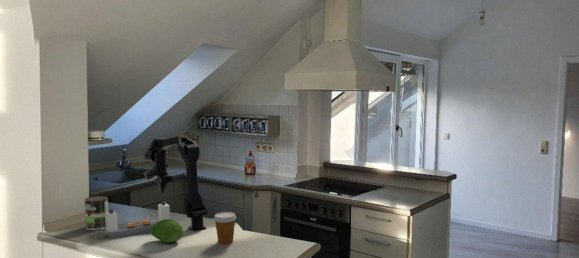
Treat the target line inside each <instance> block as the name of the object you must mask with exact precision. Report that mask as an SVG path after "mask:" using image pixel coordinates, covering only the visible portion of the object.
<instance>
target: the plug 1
mask: <svg viewBox="0 0 579 258" xmlns="http://www.w3.org/2000/svg"><path fill="white" fill-rule="evenodd" d="M118 223H119V222H118V213H117V211H114V209H113V208H112V209H111V208H110V209H108V212H106V228H105V231H106V230H107V231H108V232H115V231H118V227H119V225H118Z"/></svg>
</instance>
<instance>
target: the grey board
mask: <svg viewBox="0 0 579 258" xmlns="http://www.w3.org/2000/svg"><path fill="white" fill-rule="evenodd" d="M150 222H151V223H150V224H142V223H137V224H135V226H132V227H127V224H126V225H121V226H120V225H119V226H118V231H115V232H108V231H107V230H106V229H105V235H106V237H107V238H108V239H109V240H112V239H118V238H122V237H123V238H124V237H128V236H133V235H134V236H135V235H139V234H145V233H150V231H151V228H152V226H153V225H154V224H156V223H157V222H160V221H159V219H155V220H150Z"/></svg>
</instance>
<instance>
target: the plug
mask: <svg viewBox="0 0 579 258" xmlns="http://www.w3.org/2000/svg"><path fill="white" fill-rule="evenodd" d="M170 206H171V205H169V204H168V203H166V201H165V200H164V201H161V204H160V203H159V204H157V208H158V209H157V210H158V211H157V212H158V220H159V221H162V220H165V219H171V213H170V212H171V210H170V209H171V207H170Z"/></svg>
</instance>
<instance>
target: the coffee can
mask: <svg viewBox="0 0 579 258" xmlns="http://www.w3.org/2000/svg"><path fill="white" fill-rule="evenodd" d="M108 199H109V197H108V196H105V195H95V196H94V195H93V196H89V197H86V198H84V205H85V206H84V207H85V208H84V209H85V210H84V211H85V226H86V227H85V229H86V230H88V231H100V230H104V229H106V212H109V202H108Z"/></svg>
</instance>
